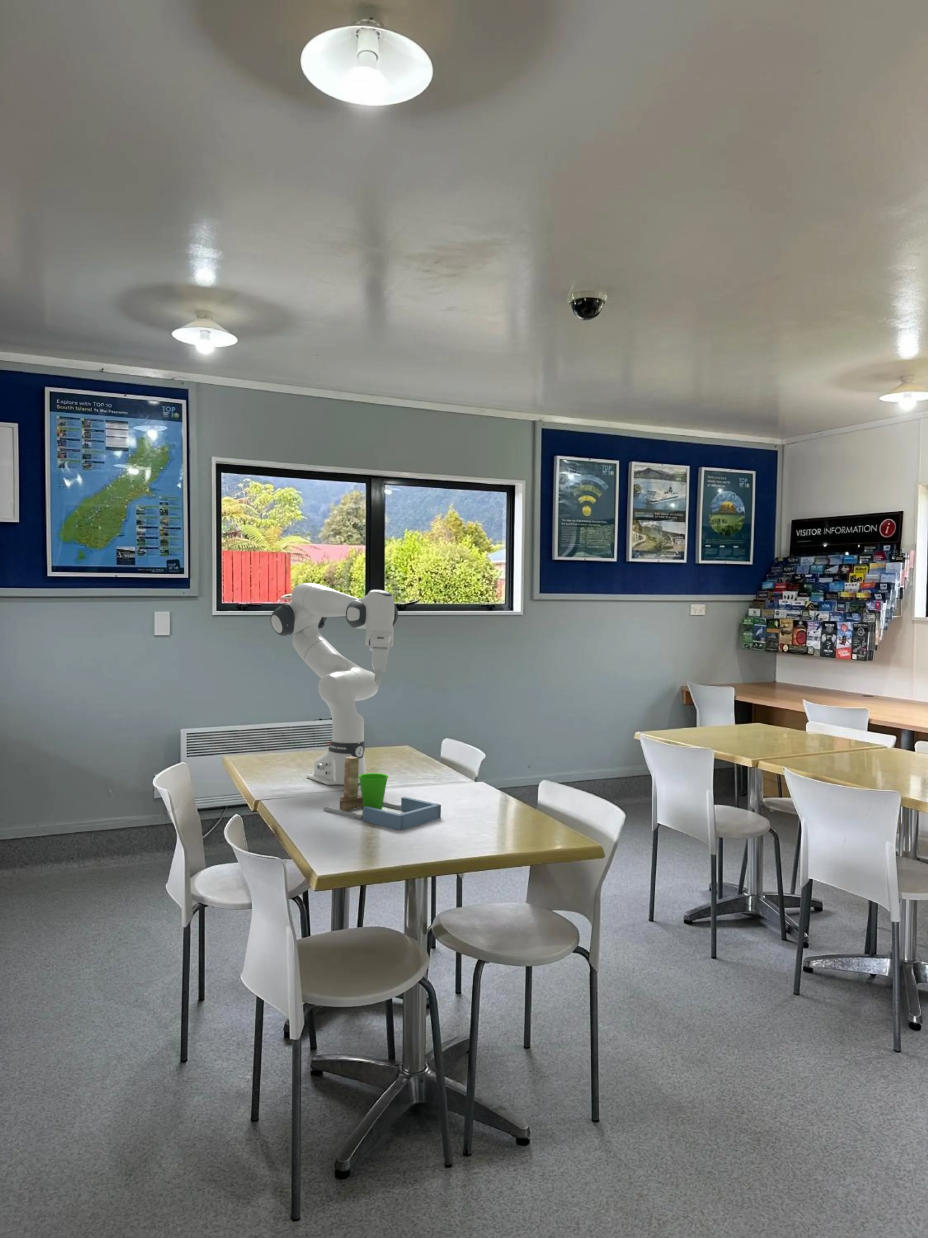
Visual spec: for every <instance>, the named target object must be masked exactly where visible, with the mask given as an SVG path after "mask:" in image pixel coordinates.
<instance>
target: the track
mask: <svg viewBox="0 0 928 1238" xmlns="http://www.w3.org/2000/svg"><path fill="white" fill-rule="evenodd" d="M382 807H386V808H391V809H395V810H398V811H401V804H397V803H392V802H389V801H384V800H383V805H382ZM323 811H324V812H328V813H333V814H337V815H341V816H344V817H349V818H351V819H356V820H360V821H363V814H360V813H355V812H352V811H350V810H348V811H345V810H341V809H340V808H335V807H332V806H328V805H324V806H323Z"/></svg>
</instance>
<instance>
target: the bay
mask: <svg viewBox="0 0 928 1238" xmlns="http://www.w3.org/2000/svg"><path fill="white" fill-rule="evenodd" d="M400 799H401V801H400V803H401V804H400V805H401V810H400V811H402V812H403V813H396V812H393V811H390V810H389V811H388V810H384V809H382V810H381V809H377V808H372V807H368V806H365V807H362V815H363V820H362V821H363V822H366V823H369V824H374V825H378V826H381V827H386V828H390V829H394V830H398V831H401V830H405V829H407V828H408V829H409V828H412V827H414V826H415V827H416V826H419V825H423V824H425V823H428V822H431V821H435V820H439V819H441V816H442V815H441V813H442V811H441V810H442V804H439V803H437V802H436V803H435V802H430V801H425V800H423V799H417V798H413V797H407V796H402V797H400Z"/></svg>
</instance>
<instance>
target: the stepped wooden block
mask: <svg viewBox="0 0 928 1238" xmlns="http://www.w3.org/2000/svg"><path fill="white" fill-rule="evenodd" d="M358 765H359V758H358V757H353V756H351V757H345V771H344V785H343V796H340V798H339V809H341V810H345V811H350V810H355V809H359V808H363V800H362V794H359V784H358Z"/></svg>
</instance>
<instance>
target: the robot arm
mask: <svg viewBox="0 0 928 1238" xmlns="http://www.w3.org/2000/svg"><path fill="white" fill-rule="evenodd" d="M333 617H335V618H336V617H337V618H338V617H345V619H346V622H347V624H348V625H349V626H350V627H352V628H353V629H357V630H359V629H362V630H363V629H364V630H366V631H365V647H366V646H367V647H368V648H369V649H368V650H369V652H371V655H372V659H371V666H372V669H373V671H374V672H373V671H370V670H367V669H365V668H363V667H361V666H359V665H358V664H356V663H355V662H353V661H351V660H349V658H347V657H345V656H343V655H342V654H341V653H340V652H339V651H338V650H337V649H336V648H335V647H334V646H333V645H332V644H331V643H330V642H329V641H328V640H327V639H326V638H324V636H323V635H322V634H321V633H320V631H319V629H323V627H324V626H325V624H326V621H327V619H328V618H333ZM398 619H399V611H398V608H397V606H396V604H395V599H394V596H393V594H392V593H391V592H389V591H386V590H382V589H371V590H369V592H368V593H367V594H366V595H365V596H363V597H361V598H359V597H355V596H352V595H349V594H347V593H344V592H341V591H338V590H336V589H334V588H332V587H329V586H325V585H322V584H319V583H313V582H304V583H299V584H298V585H296V586H295V587H294V588H293V590H292V592H291V602H288V603H283V604H281V605H280V606H278V607H277V608H276V609H274V610H273V611H272V613H271V615H270V624H271V627H272V629H273V630H274V632H275V633H276V634H277V635H279V636H280V637H281V636H282V637H286V636H291V635H292V634H294V635H293V637H292V647H293V648H294V649H295V651H296V653H297V654H298V655H299V657H300V658H301V660H303V662H304V663H305V664H306V665H307V666H308V667H309V668H310V669H311V670H312V671H313V672H314V673H315V675H316V676H317V677H319V678H320V680H319V682H318V687H317V689H318V690H317V691H318V694H319V696H320V698H321V699H322V701H324V702H325V703H326V705H327V707H328V709H329V712H330V715H331V722H332V727H331V728H332V730H331V731H332V735H331V741H326V746H329V747H328V749H327V751H326V752H325V753H324V754H322V756H319V757H318V758H317V759H316V760H315V761H314V767H313V772H311V773H308V774H307V775H306V778H307V779H310V780H313V781H315V782H319V783H321V784H325V785H328V786H331V785H334V786H335V785H341V786H342V785H343V786H344V771H345V757H351V756H353V757H358V758H359V765H358V785H359V784H360V778H359V775H361V774H366V773H367V771H366V769H367V768H366V760H365V759H366V757H365V751H366V749H365V748H366V742H365V740H364V739H365V738H364V737H365V719H364V717H363V716H362V714H360V713H358V710H357V706H356V702H359V701H365V700H369V698H372V697H374V696H375V695H376V694H377V693H378V691H379V686H382V681H383V673H385V672H386V670H387V669H386V668H387V663H388V656H389V652H390V648H391V647H394V636H395V634H394V632H395V631H394V626H395V624H396V623H397V621H398Z"/></svg>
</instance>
